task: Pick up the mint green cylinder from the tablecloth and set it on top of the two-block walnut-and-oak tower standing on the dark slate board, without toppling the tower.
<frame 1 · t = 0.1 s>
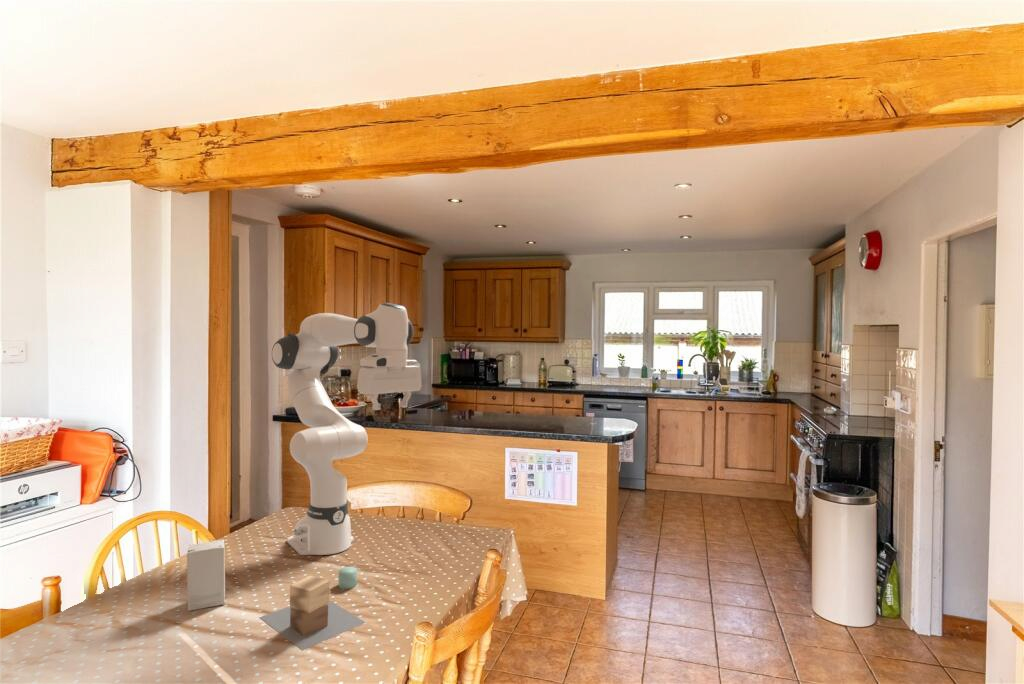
hand: (390, 408, 157), 48 cm above the table, fingers open, 8 cm apart
board: (312, 624, 130), on the table
top block: (309, 604, 127), point 6 cm above the table, touching bottom block
bottom block: (308, 626, 127), point 1 cm above the table, touching board, top block
mint green cylinder: (347, 588, 149), on the table
skincare box: (205, 604, 138), on the table
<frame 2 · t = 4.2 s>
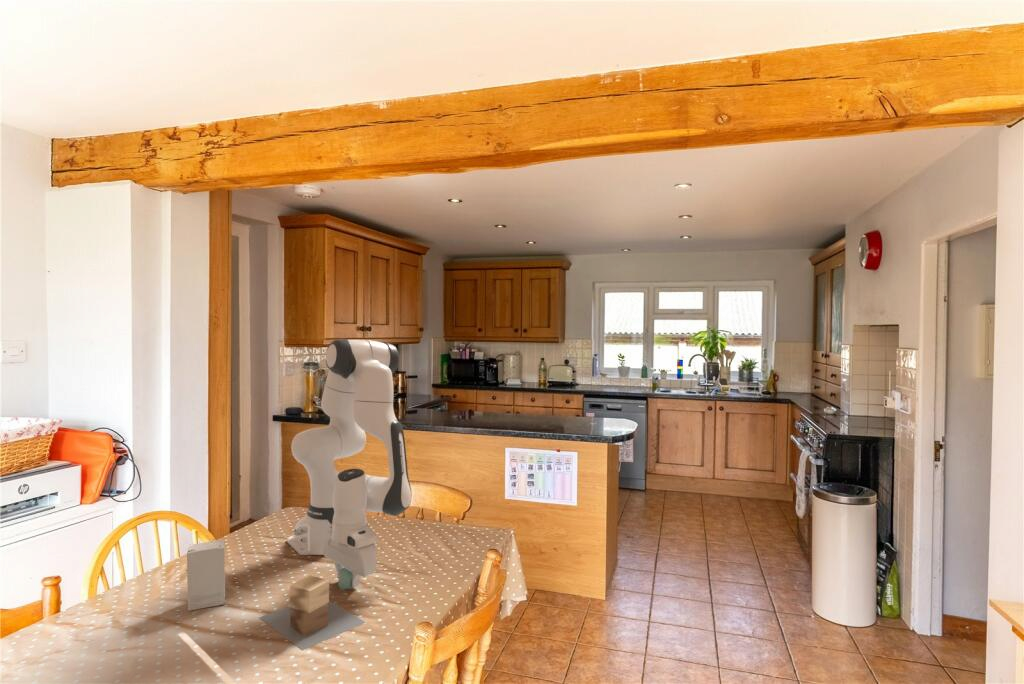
hand: (347, 582, 149), 2 cm above the table, fingers closed on mint green cylinder, 5 cm apart
mint green cylinder: (347, 588, 149), on the table, touching gripper
everything else where it was.
when the fingers open (13 cm above the table, at t = 9.3 s): mint green cylinder stays where it is, resting on top block.
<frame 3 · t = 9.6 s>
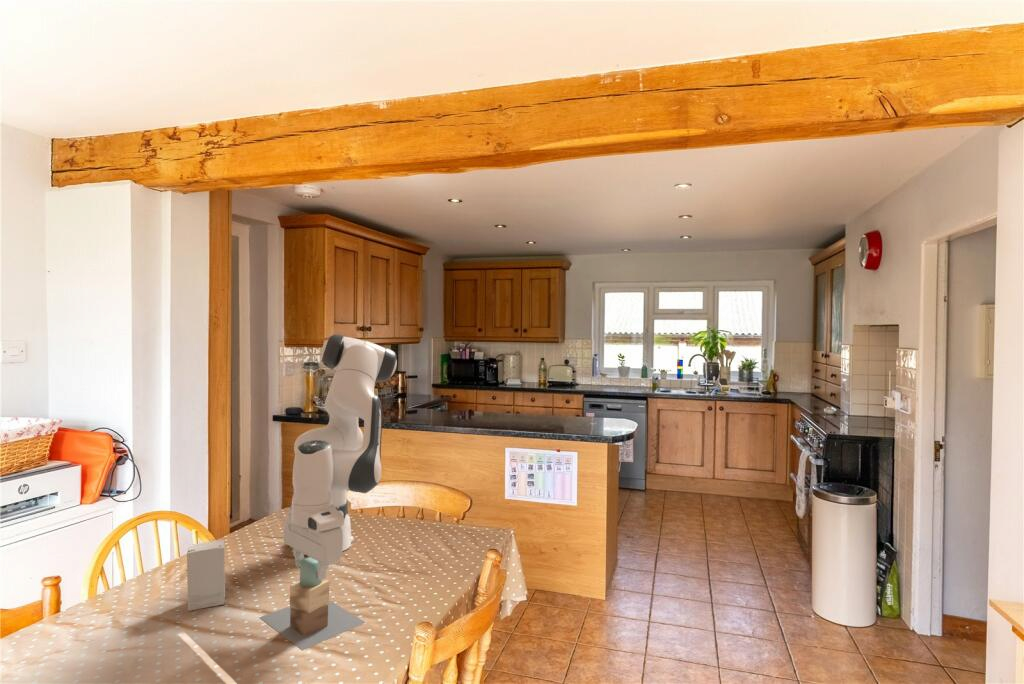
hand: (310, 572, 127), 13 cm above the table, fingers open, 8 cm apart
top block: (309, 604, 127), point 6 cm above the table, touching bottom block, mint green cylinder
mint green cylinder: (310, 582, 127), point 11 cm above the table, touching top block
everything else where it was.
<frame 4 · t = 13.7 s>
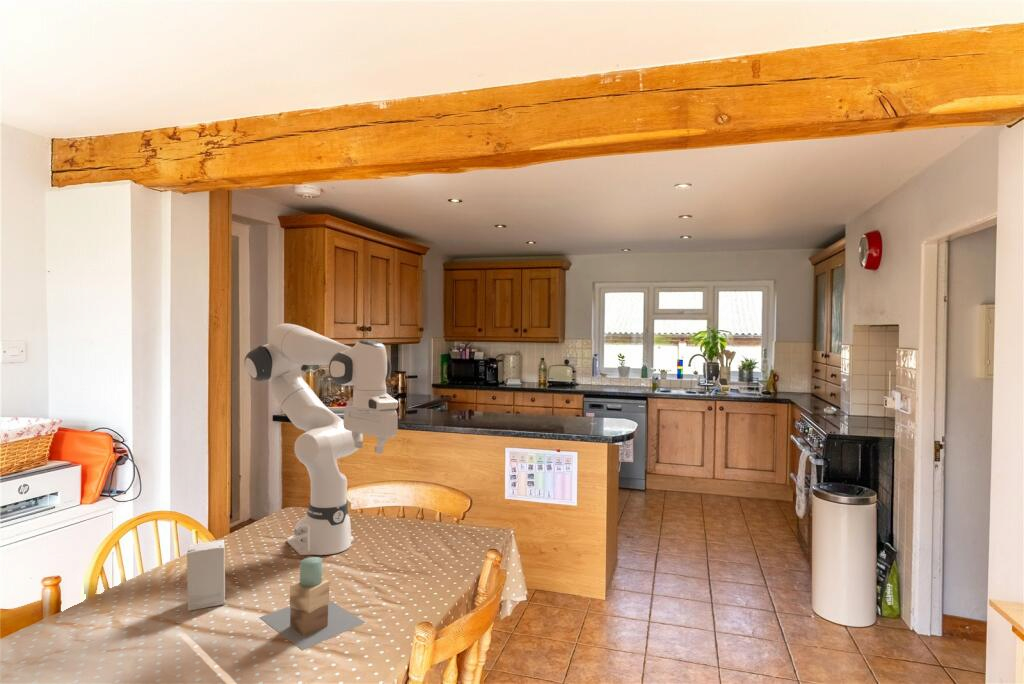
hand: (368, 450, 150), 37 cm above the table, fingers open, 8 cm apart
nothing on the table moved.
at the end: mint green cylinder 0.2 cm from the top block (horizontally); mint green cylinder point 11.0 cm above the table; top block tilted 0° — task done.
